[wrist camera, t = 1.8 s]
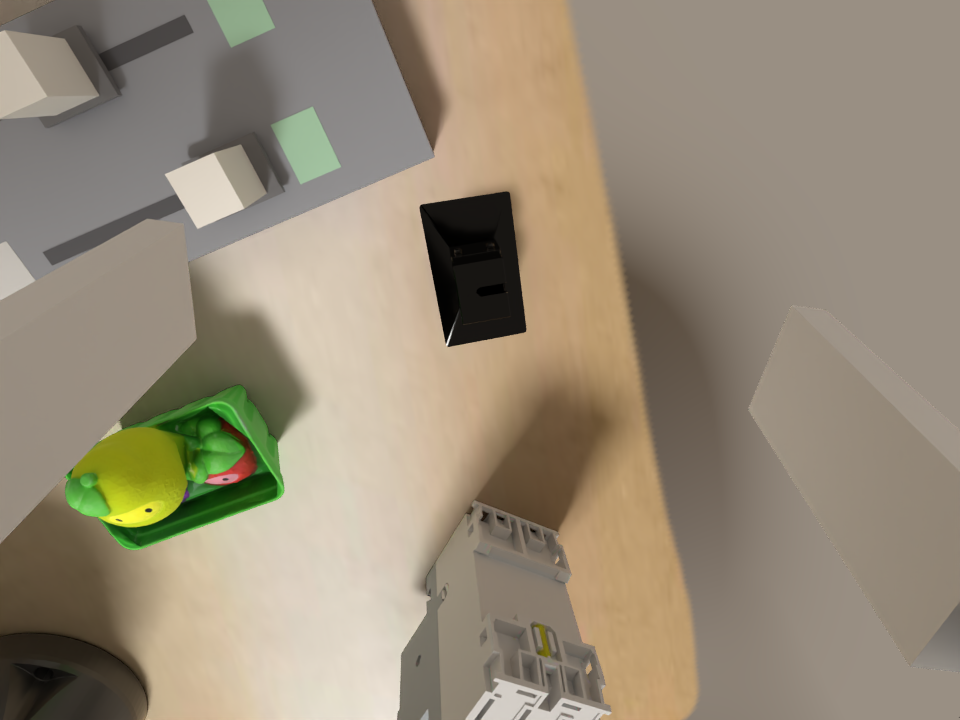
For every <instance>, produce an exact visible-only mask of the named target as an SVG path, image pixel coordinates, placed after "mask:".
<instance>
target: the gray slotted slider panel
mask: <svg viewBox="0 0 960 720" xmlns="http://www.w3.org/2000/svg"><path fill="white" fill-rule="evenodd" d="M74 25H79V26H82V28H83V30H84V31H85V33H86V35H87V36H88V38H89V40H90V41H91V43H92V45H93V46H94V48H95V50H96V51H97V53H98V55H99V56H100V58H101V60H102V61H103V63H104V65H105V66H106V68H107V70H108V71H109V73H110V75H111V76H112V78H113V80H114V82H115V83H116V85H117V87H118V88H119V90H120V92H121V93H122V96H120V97H118V98H115V99H113V100H111V101H109V102H107V103H104V104H102V105H100V106H98V107H96V108H93V109H91V110H89V111H87V112H84V113H82V114H80V115H78V116H76V117H73V118H71V119H69V120H67V121H65V122H62V123H60V124H58V125H56V126H54V127H51V128H45V127H44V125H43V124H42V122H41V121H40V119H39V118H38V117H27V118H13V119H0V300H2V299H4V298H6V297H8V296H9V295H11V294H13V293H15V292H16V291H18V290H20V289H22V288H24V287H25V286H27V285H29V284H31V283H33V282H34V281H36V280H38V279H40V278H42V277H43V276H45V275H47V274H49V273H51V272H52V271H54V270H56V269H58V268H60V267H61V266H63V265H65V264H67V263H68V262H70V261H72V260H74V259H76V258H77V257H79V256H81V255H83V254H85V253H86V252H88V251H90V250H92V249H94V248H95V247H97V246H99V245H101V244H103V243H104V242H106V241H108V240H110V239H111V238H113V237H115V236H117V235H119V234H120V233H122V232H124V231H126V230H128V229H129V228H131V227H133V226H135V225H137V224H138V223H140V222H142V221H144V220H146V219H153V220H160V221H168V222H175V223H183V224H184V230H185V239H186V248H187V257H188V262H190V261H192V260H194V259H197V258H199V257H201V256H204V255H206V254H208V253H211V252H213V251H215V250H218V249H220V248H223V247H225V246H227V245H230V244H232V243H234V242H237V241H239V240H241V239H244V238H246V237H248V236H251V235H253V234H255V233H258V232H260V231H262V230H265V229H267V228H269V227H272V226H274V225H276V224H279V223H281V222H283V221H286V220H288V219H291V218H293V217H295V216H298V215H300V214H302V213H305V212H307V211H309V210H312V209H314V208H316V207H319V206H321V205H323V204H326V203H328V202H330V201H333V200H335V199H337V198H340V197H342V196H344V195H347V194H349V193H351V192H354V191H356V190H359V189H361V188H363V187H366V186H368V185H370V184H373V183H375V182H377V181H380V180H382V179H384V178H387V177H389V176H391V175H394V174H396V173H398V172H401V171H403V170H405V169H408V168H410V167H412V166H415V165H417V164H420V163H422V162H424V161H427V160H429V159H431V158H434V157H435V156H434V152H433V149H432V147H431V144H430V142H429V140H428V137H427V135H426V132H425V130H424V127H423V125H422V122H421V120H420V117H419V115H418V112H417V110H416V107H415V105H414V103H413V100H412V98H411V95H410V93H409V90H408V88H407V85H406V83H405V80H404V78H403V75H402V73H401V70H400V68H399V66H398V63H397V61H396V58H395V56H394V53H393V51H392V48H391V46H390V43H389V41H388V38H387V36H386V33H385V31H384V29H383V26H382V24H381V21H380V19H379V16H378V14H377V11H376V9H375V6H374V4H373V1H372V0H54V1H52V2H50V3H48V4H46V5H44V6H42V7H39V8H37V9H35V10H33V11H31V12H29V13H27V14H24V15H22V16H20V17H18V18H16V19H14V20H12V21H10V22H7V23H5V24H3V25H1V26H0V32H1V31H4V30H7V31H14V32H21V33H28V34H35V35H42V36H49V37H51V36H53V35H55V34H57V33H59V32H61V31H64V30H66V29H68V28H70V27H72V26H74ZM252 132H255V133H256V135H257V137H258V139H259V141H260V143H261V145H262V147H263V149H264V151H265V153H266V154H267V156H268V158H269V160H270V162H271V164H272V166H273V168H274V170H275V172H276V174H277V176H278V177H279V179H280V181H281V183H282V185H283V187H284V189H285V192H284V193H282V194H280V195H277V196H275V197H273V198H270V199H268V200H266V201H263V202H261V203H259V204H256V205H254V206H252V207H250V208H247V209H245V210H243V211H240V212H238V213H236V214H233V215H231V216H229V217H226V218H224V219H222V220H219V221H217V222H212V223H210V224H208V225H205V226H203V227H201V228H198V229H197V227H196V226H195V224H194V222H193V221H192V219H191V217H190V216H189V214H188V212H187V211H186V209H185V207H184V206H183V204H182V202H181V201H180V199H179V197H178V196H177V194H176V192H175V191H174V189H173V187H172V186H171V184H170V182H169V181H168V179H167V177H166V176H165V174H166V173H169V172H171V171H173V170H176V169H178V168H180V167H182V164H181V163H183V162H186V161H188V160H190V159H192V158H195V157H197V156H199V155H202V154H204V153H206V152H208V151H211V150H213V149H215V148H218V147H220V146H222V145H224V144H227V143H229V142H231V141H233V140H236V139H238V138H240V137H243V136H245V135H247V134H249V133H252Z"/></svg>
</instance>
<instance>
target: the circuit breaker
mask: <svg viewBox="0 0 960 720" xmlns="http://www.w3.org/2000/svg"><path fill="white" fill-rule="evenodd" d="M471 505H472V507H473V508H474V510H473V511H472V513H471V515H470V514H467V513H466V514H465V515H464V517H463V519H462V520H461V522H460V523H459V525H458V527H457V528H456V530H455V531H454V533H453V535H452V536H451V538H450V540H449V541H448V543H447V544H446V546H445V548H444V549H443V551H442V552H441V554H440V556H439V557H438V559H437V560H436V562H435V564H434V565H433V567H432V569H431V570H430V572H429V573H428V575H427V577H426V589H427V595H428V596H431V600H429V601H427V614H426V616H425V617H424V619H423V621H422V622H421V624H420V625H419V627H418V628H417V630H416V632H415V633H414V635H413V636H412V638H411V640H410V641H409V643H408V644H407V646H406V647H405V649H404V651H403V652H402V655H401V682H400V710H399V711H398V716H397V720H600V717H601V716H602V715H603V714H607V715H610V714H611V708H610V705H607V704H604V699H603V694H602V689H603V688H604V687H605V686H606V685H605V680H604V676H603V673H602V669H601V666H600V663H599V660H598V657H597V654H596V650H595V647H594V646H591V645H588V644H585V643H582V639H581V636H580V632H579V629H578V626H577V622H576V619H575V616H574V612H573V609H572V605H571V602H570V599H569V595H568V592H567V589H566V585H565V583H568V581H569V579H570V577H571V575H572V574H571V571H570V568H569V565H568V562H567V558H566V555H565V552H564V549H563V546H562V545H560V544H558V542H557V538H558V536H559V533H558V532H557V531H554V530H552V529H549V528H546V527H544V526H541V525H538V524H536V523H533V522H531V521H528V520H525V519H523V518H520V517H517V516H515V515H512V514H510V513H507V512H504V511H502V510H499V509H496V508H494V507H491V506H489V505H486V504H483V503H481V502H478V501H475V500H474V501H473V503H472V504H471ZM482 511H484V512H487V513H488V515H487V516H486V518H485V519H484V521H483V522H482V521H480V520H481V518H482V517H483V514H482ZM496 515H497V516H500V517H502V518H505V519H504V520H503V521H502V520H499V519H497V517H496ZM510 522H511V523H510ZM521 526H522V527H521ZM530 528H532V529H534V530H536V532H535V533H534V532H531V531H530ZM543 534H544V535H543ZM558 556H559V561H558V562H557V564H555V561H556V559H557V558H558ZM590 663H591V666H592V670H591V672H590V673H589V674H588V675H587V674H586V670H585V669H586V667H587V666H588V665H589V664H590Z"/></svg>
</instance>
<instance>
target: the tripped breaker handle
mask: <svg viewBox="0 0 960 720" xmlns="http://www.w3.org/2000/svg"><path fill="white" fill-rule="evenodd" d="M120 96H122V93H121V92H120V90H119V88H118V87H117V85H116V83H115V82H114V80H113V78H112V76H111V75H110V73H109V71H108V70H107V68H106V66H105V65H104V63H103V61H102V60H101V58H100V56H99V55H98V53H97V51H96V50H95V48H94V46H93V45H92V43H91V41H90V40H89V38H88V36H87V35H86V33H85V31H84V30H83V28H82V26H79V25H74V26H72V27H70V28H68V29H66V30H64V31H61V32H59V33H57V34H55V35H53V36H51V37H49V36H42V35H35V34H28V33H21V32H14V31H7V30H4V31H1V32H0V119H13V118H27V117H38V118H39V119H40V121H41V122H42V124H43V125H44V127H45V128H51V127H54V126H56V125H58V124H60V123H62V122H65V121H67V120H69V119H71V118H73V117H76V116H78V115H80V114H82V113H84V112H87V111H89V110H91V109H93V108H96V107H98V106H100V105H102V104H104V103H107V102H109V101H111V100H113V99H115V98H118V97H120Z"/></svg>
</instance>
